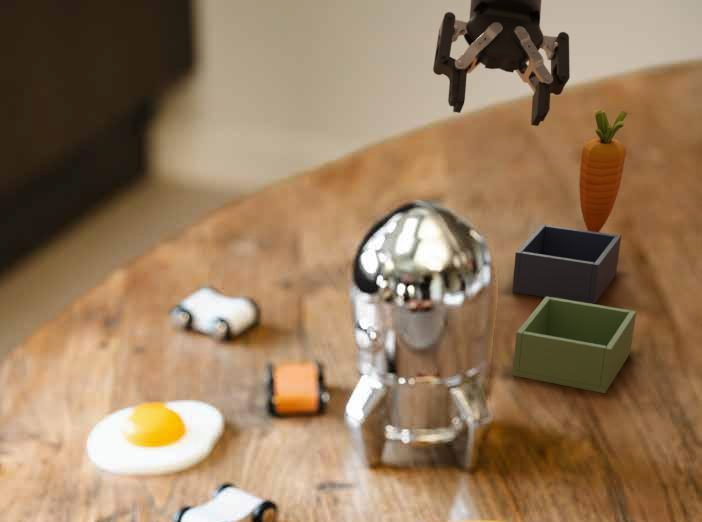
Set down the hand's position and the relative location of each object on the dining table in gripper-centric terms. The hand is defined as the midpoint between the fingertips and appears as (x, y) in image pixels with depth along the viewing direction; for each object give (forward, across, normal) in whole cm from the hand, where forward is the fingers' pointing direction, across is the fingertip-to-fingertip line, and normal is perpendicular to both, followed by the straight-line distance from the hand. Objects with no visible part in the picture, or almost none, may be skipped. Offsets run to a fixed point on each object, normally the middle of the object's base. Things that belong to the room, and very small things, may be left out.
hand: (498, 114), depth 127 cm
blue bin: (+12, +12, +10) cm, 20 cm away
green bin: (+28, +9, -2) cm, 29 cm away
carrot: (+1, +18, +19) cm, 26 cm away
